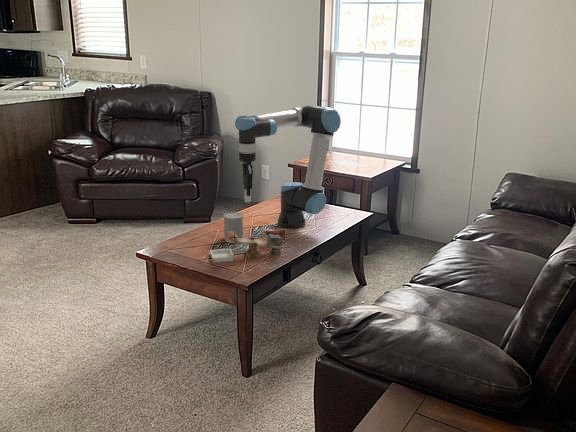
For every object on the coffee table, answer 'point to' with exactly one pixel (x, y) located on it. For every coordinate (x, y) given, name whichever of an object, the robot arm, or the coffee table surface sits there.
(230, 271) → the coffee table surface
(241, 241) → the lever
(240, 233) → the grey metal can
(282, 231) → the bull figurine
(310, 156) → the robot arm
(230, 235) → the ball
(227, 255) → the dish
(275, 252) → the block
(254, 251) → the fulcrum
